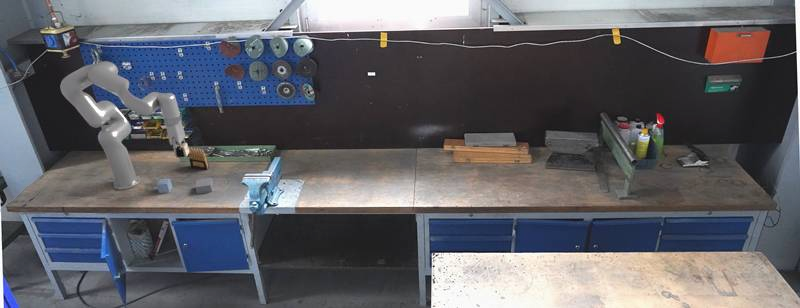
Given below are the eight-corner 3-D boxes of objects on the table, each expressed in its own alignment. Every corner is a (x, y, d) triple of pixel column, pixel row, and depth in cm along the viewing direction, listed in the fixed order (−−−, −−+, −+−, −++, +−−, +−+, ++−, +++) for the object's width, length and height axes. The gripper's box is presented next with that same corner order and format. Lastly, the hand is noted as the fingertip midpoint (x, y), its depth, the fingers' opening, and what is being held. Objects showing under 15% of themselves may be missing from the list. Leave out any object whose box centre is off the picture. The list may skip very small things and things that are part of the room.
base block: (197, 194, 265) (195, 187, 263) (198, 186, 271) (196, 179, 269) (212, 192, 266) (210, 185, 265) (213, 184, 272) (211, 177, 271)
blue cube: (159, 193, 268) (156, 184, 265) (162, 188, 272) (159, 179, 270) (169, 192, 268) (166, 183, 266) (172, 187, 272) (169, 178, 270)
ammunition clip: (209, 168, 287) (204, 148, 281) (207, 170, 285) (202, 149, 280) (193, 165, 291) (188, 145, 285) (191, 167, 289) (185, 146, 283)
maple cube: (176, 157, 263) (173, 148, 260) (179, 152, 267) (176, 143, 265) (186, 156, 263) (184, 147, 261) (189, 151, 268) (186, 142, 265)
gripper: (169, 112, 264) (179, 146, 272) (159, 128, 249) (169, 163, 257) (185, 111, 264) (194, 144, 273) (175, 126, 249) (185, 161, 258)
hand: (182, 153), depth 265 cm, fingers closed on maple cube, 5 cm apart
